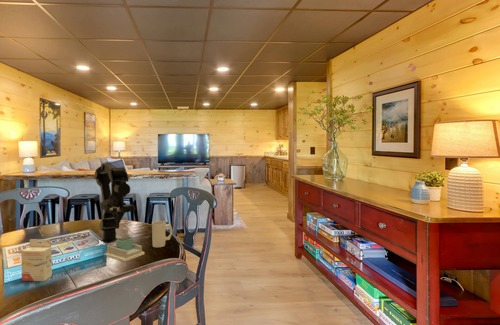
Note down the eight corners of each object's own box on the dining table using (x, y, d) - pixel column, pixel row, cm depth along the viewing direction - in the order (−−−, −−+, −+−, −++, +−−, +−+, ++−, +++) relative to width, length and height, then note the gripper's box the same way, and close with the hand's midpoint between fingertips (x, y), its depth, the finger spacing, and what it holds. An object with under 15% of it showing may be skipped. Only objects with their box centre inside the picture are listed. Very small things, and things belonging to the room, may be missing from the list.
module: (121, 252, 139) (121, 240, 139) (116, 250, 141) (116, 238, 141) (133, 248, 144) (132, 236, 144) (127, 247, 146) (127, 235, 146)
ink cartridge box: (21, 281, 114) (19, 242, 113) (30, 275, 119) (29, 238, 118) (44, 281, 114) (43, 242, 114) (52, 275, 119) (51, 238, 118)
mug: (151, 248, 152) (151, 224, 152) (152, 244, 159) (152, 221, 158) (172, 247, 155) (172, 223, 154) (172, 242, 161) (172, 220, 161)
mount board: (104, 255, 141) (104, 246, 141) (124, 248, 151) (124, 240, 151) (124, 261, 134) (124, 252, 134) (144, 254, 144) (144, 245, 144)
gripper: (90, 193, 149) (91, 224, 150) (115, 196, 140) (115, 230, 140) (111, 190, 159) (111, 220, 159) (135, 193, 149) (135, 225, 150)
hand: (117, 223), depth 152 cm, fingers closed
